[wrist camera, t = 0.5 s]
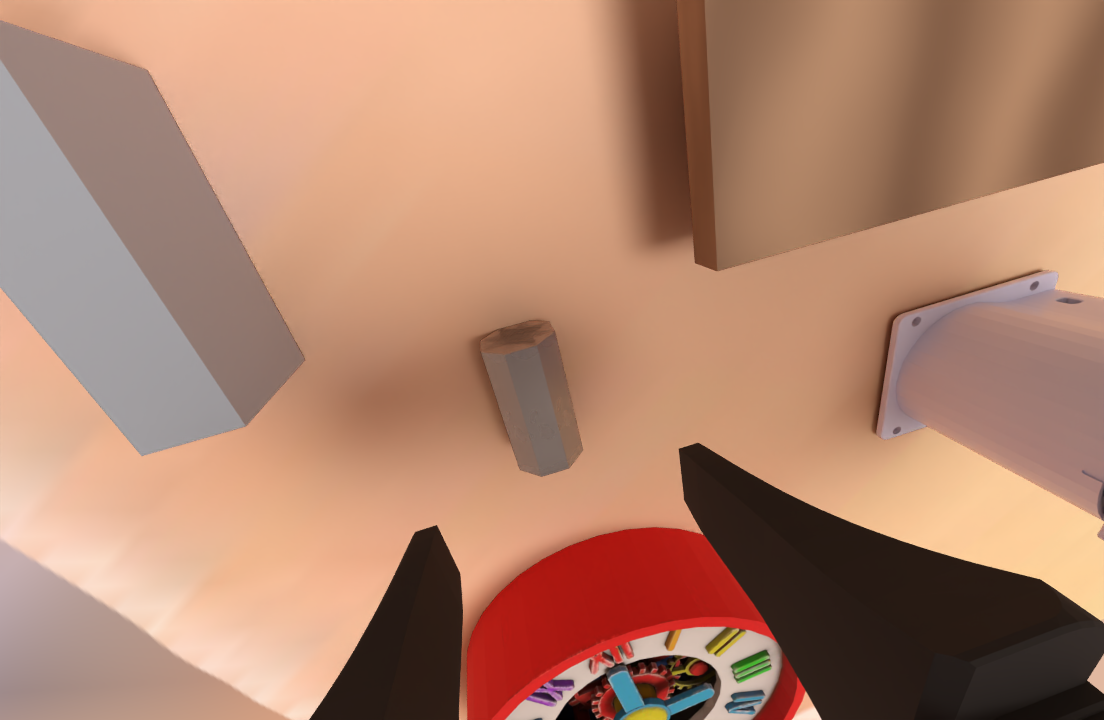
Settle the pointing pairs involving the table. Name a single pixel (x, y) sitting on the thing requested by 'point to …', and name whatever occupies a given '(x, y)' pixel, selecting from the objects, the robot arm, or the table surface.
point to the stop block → (128, 249)
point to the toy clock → (628, 638)
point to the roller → (533, 396)
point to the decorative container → (806, 710)
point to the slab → (876, 111)
